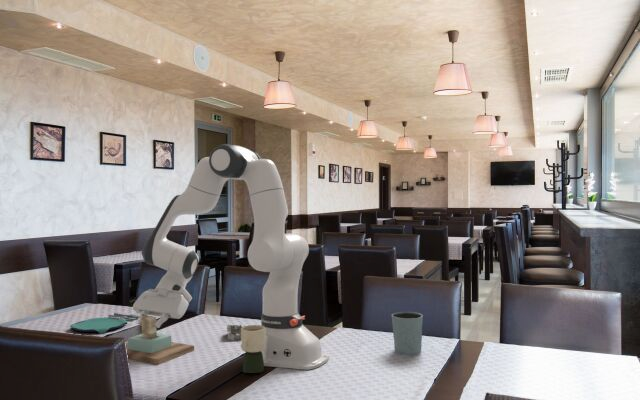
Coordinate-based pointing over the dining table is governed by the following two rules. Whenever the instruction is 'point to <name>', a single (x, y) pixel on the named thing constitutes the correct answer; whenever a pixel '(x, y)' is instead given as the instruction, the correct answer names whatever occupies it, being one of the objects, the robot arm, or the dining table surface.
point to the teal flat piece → (102, 323)
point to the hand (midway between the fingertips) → (148, 325)
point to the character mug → (253, 348)
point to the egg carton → (235, 330)
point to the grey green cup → (407, 332)
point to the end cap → (149, 343)
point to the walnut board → (160, 353)
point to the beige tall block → (148, 327)
